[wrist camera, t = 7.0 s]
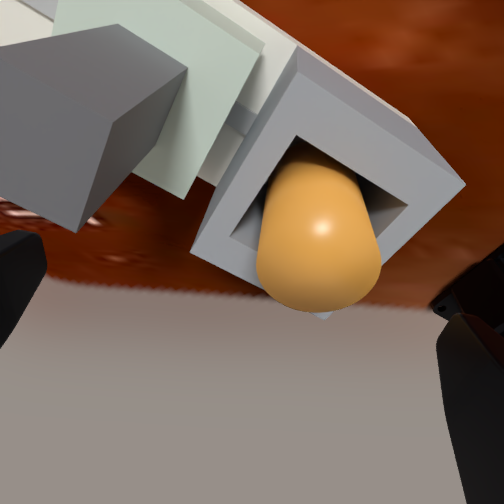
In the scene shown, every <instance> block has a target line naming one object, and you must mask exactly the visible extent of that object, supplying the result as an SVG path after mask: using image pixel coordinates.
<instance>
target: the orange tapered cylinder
mask: <svg viewBox="0 0 504 504" xmlns="http://www.w3.org/2000/svg"><path fill="white" fill-rule="evenodd" d="M256 271H257V275H258V278H259V281H260V283H261V285H262V286H263V288H264V289H265V290H266V292H267V293H268V294H269V295H270V296H271V297H272V298H274V299H275V300H276V301H278V302H279V303H282V304H283V305H285V306H287V307H289V308H292V309H295V310H299V311H304V312H312V313H321V312H330V311H335V310H339V309H342V308H345V307H348V306H350V305H352V304H354V303H356V302H357V301H359V300H360V299H362V298H363V297H364V296H365V295H366V294H367V293H368V292H369V291H370V290H371V289H372V288H373V286H374V285H375V283H376V281H377V279H378V277H379V274H380V271H381V254H380V250H379V247H378V244H377V241H376V238H375V234H374V231H373V228H372V225H371V222H370V219H369V215H368V212H367V209H366V206H365V203H364V200H363V196H362V193H361V190H360V187H359V184H358V181H357V178H356V174H355V171H353V170H352V169H350V168H349V167H347V166H345V165H344V164H342V163H341V162H339V161H337V160H336V159H334V158H333V157H331V156H329V155H328V154H326V153H325V152H323V151H321V150H320V149H318V148H317V147H315V146H313V145H312V144H310V143H309V142H302V143H298V144H296V145H293V146H291V147H290V148H288V149H287V150H286V151H285V153H284V154H283V156H282V157H281V159H280V160H279V162H278V163H277V165H276V166H275V168H274V169H273V171H272V173H271V174H270V176H269V178H268V185H267V192H266V198H265V205H264V212H263V219H262V225H261V232H260V239H259V246H258V252H257V259H256Z"/></svg>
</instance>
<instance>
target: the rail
mask: <svg viewBox="0 0 504 504" xmlns="http://www.w3.org/2000/svg"><path fill="white" fill-rule="evenodd" d="M202 1H204V2H205V3H207V4H208V5H210V6H211V7H213V8H214V9H216V10H217V11H218V12H220V13H221V14H223V15H224V16H226V17H227V18H229V19H230V20H232V21H233V22H235V23H236V24H238V25H239V26H241V27H242V28H244V29H245V30H247V31H248V32H250V33H251V34H252V35H254V36H255V37H257V38H258V39H260V40H261V41H263V42H264V43H266V44H265V46H264V48H263V50H262V52H261V53H260V55H259V57H258V59H257V61H256V63H255V65H254V67H253V69H252V71H251V73H250V75H249V76H248V78H247V80H246V82H245V84H244V86H243V88H242V90H241V92H240V94H239V96H238V97H237V99H236V101H235V103H234V105H233V107H232V109H231V111H230V113H229V115H228V117H227V119H226V120H225V122H224V124H223V126H222V128H221V130H220V132H219V134H218V136H217V138H216V140H215V141H214V143H213V145H212V147H211V149H210V151H209V153H208V155H207V157H206V159H205V161H204V162H203V164H202V166H201V168H200V170H199V172H198V174H197V176H198V177H200V178H201V179H203V180H205V181H207V182H209V183H210V184H212V185H214V186H216V189H215V191H214V194H213V196H212V199H211V201H210V204H209V206H208V209H207V211H206V213H205V216H204V218H203V221H202V223H201V226H200V228H199V231H198V233H197V236H196V238H195V241H194V243H193V246H192V248H191V250H190V253H192V254H194V255H196V256H198V257H200V258H202V259H204V260H206V261H208V262H210V263H212V264H214V265H216V266H218V267H220V268H222V269H224V270H226V271H228V272H230V273H232V274H234V275H236V276H238V277H240V278H242V279H244V280H246V281H247V282H249V283H251V284H253V285H255V286H257V287H259V288H261V289H263V290H265V289H264V288H263V286H262V285H261V283H260V281H259V278H258V275H257V271H256V259H257V252H258V246H259V239H260V232H261V225H262V219H263V212H264V205H265V198H266V192H267V185H268V178H269V176H270V174H271V173H272V171H273V169H274V168H275V166H276V165H277V163H278V162H279V160H280V159H281V157H282V156H283V154H284V153H285V151H286V150H287V149H288V148H290V147H291V146H293V145H296V144H298V143H302V142H309V143H310V144H312V145H313V146H315V147H317V148H318V149H320V150H321V151H323V152H325V153H326V154H328V155H329V156H331V157H333V158H334V159H336V160H337V161H339V162H341V163H342V164H344V165H345V166H347V167H349V168H350V169H352V170H353V171H355V174H356V178H357V181H358V184H359V187H360V190H361V193H362V196H363V200H364V203H365V206H366V209H367V212H368V215H369V219H370V222H371V225H372V228H373V231H374V234H375V238H376V241H377V244H378V247H379V250H380V254H381V266H382V265H383V264H384V263H385V262H386V261H387V260H388V259H389V258H390V257H391V256H392V255H393V254H394V253H395V252H396V251H397V250H398V249H400V248H401V247H402V246H403V245H404V244H405V243H406V242H407V241H408V240H409V239H410V238H411V237H412V236H413V235H414V234H415V233H416V232H417V231H418V230H419V229H420V228H421V227H422V226H424V225H425V224H426V223H427V222H428V221H429V220H430V219H431V218H432V217H433V216H434V215H435V214H436V213H437V212H438V211H439V210H440V209H441V208H442V207H443V206H444V205H445V204H446V203H448V202H449V201H450V200H451V199H452V198H453V197H454V196H455V195H456V194H457V193H458V192H459V191H460V190H461V189H462V188H463V187H464V186H465V185H466V184H465V183H464V181H463V180H462V179H461V178H460V177H459V176H458V175H457V173H456V172H455V171H454V170H453V169H452V168H451V166H450V165H449V164H448V163H447V162H446V161H445V160H444V158H443V157H442V156H441V155H440V154H439V153H438V151H437V150H436V149H435V148H434V147H433V146H432V145H431V143H430V142H429V141H428V140H427V139H426V138H425V136H424V135H423V134H422V133H421V132H420V131H419V129H418V128H417V127H416V126H415V125H414V124H413V123H412V121H411V120H410V119H409V118H408V117H407V116H405V115H404V114H402V113H401V112H399V111H398V110H396V109H395V108H394V107H392V106H391V105H389V104H388V103H386V102H385V101H383V100H382V99H381V98H379V97H378V96H376V95H375V94H373V93H372V92H370V91H369V90H368V89H366V88H365V87H363V86H362V85H360V84H359V83H357V82H356V81H355V80H353V79H352V78H350V77H349V76H347V75H346V74H345V73H343V72H342V71H340V70H339V69H337V68H336V67H334V66H333V65H332V64H330V63H329V62H327V61H326V60H324V59H323V58H321V57H320V56H319V55H317V54H316V53H314V52H313V51H311V50H310V49H308V48H307V47H306V46H304V45H303V44H301V43H300V42H298V41H297V40H295V39H294V38H293V37H291V36H290V35H288V34H287V33H285V32H284V31H283V30H281V29H280V28H278V27H277V26H275V25H274V24H272V23H271V22H270V21H268V20H267V19H265V18H264V17H262V16H261V15H259V14H258V13H257V12H255V11H254V10H252V9H251V8H249V7H248V6H246V5H245V4H244V3H242V2H241V1H239V0H202ZM57 4H58V0H0V46H6V45H11V44H16V43H21V42H26V41H31V40H36V39H41V38H46V37H51V34H52V29H53V24H54V19H55V14H56V9H57ZM265 291H266V290H265ZM333 312H334V311H330V312H321V313H312V312H309V313H311V314H313V315H315V316H317V317H319V318H321V319H323V320H325V319H326V318H327V317H329V316H330V315H331V314H332V313H333Z"/></svg>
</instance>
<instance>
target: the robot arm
mask: <svg viewBox="0 0 504 504" xmlns="http://www.w3.org/2000/svg"><path fill="white" fill-rule="evenodd" d="M46 270H47V260H46V256H45V251H44V247H43V242H42V239H41V237H40V235H39V234H37V233H35V232H29V231H24V230H16V231H12V232H9V233H6V234H3V235H0V348H1V347H2V345H3V344H4V343H5V341H6V340H7V339H8V337H9V335H10V334H11V333H12V331H13V329H14V328H15V326H16V325H17V323H18V321H19V319H20V318H21V316H22V314H23V312H24V311H25V309H26V307H27V305H28V303H29V302H30V300H31V298H32V297H33V295H34V293H35V291H36V290H37V287H38V286H39V284H40V282H41V281H42V279H43V277H44V275H45V273H46ZM439 306H442V307H439ZM431 307H432V309H433V312H434V313H435V314H437V315H439V316H441V317H443V318H444V319H446V320H448V321H449V322H448V323H447V325H446V326H445V328H444V330H443V331H442V332H441V334H440V336H439V337H438V339H437V343H436V351H437V359H438V367H439V374H440V381H441V390H442V397H443V405H444V411H445V416H446V421H447V425H448V430H449V434H450V438H451V442H452V446H453V450H454V454H455V458H456V462H457V466H458V470H459V474H460V478H461V482H462V486H463V491H464V494H465V499H466V503H467V504H504V245H503V246H502V247H500V248H499V249H498V250H497V251H495V252H494V253H493V254H492V255H490V256H489V257H488V258H487V259H485V260H484V261H483V262H482V263H480V264H479V265H478V266H477V267H475V268H474V269H473V270H472V271H470V272H469V273H468V274H467V275H465V276H464V277H463V278H461V279H460V280H459V281H458V282H456V283H455V284H454V285H453V286H451V287H450V288H449V289H448V290H446V291H445V292H444V293H443V294H441V295H440V296H439V297H438V298H436V299H435V300H434V301H433V302H432V303H431Z"/></svg>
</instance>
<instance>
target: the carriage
mask: <svg viewBox="0 0 504 504" xmlns="http://www.w3.org/2000/svg"><path fill="white" fill-rule="evenodd" d="M265 44H266V43H264V42H263V41H261V40H260V39H258V38H257V37H255V36H254V35H252V34H251V33H250V32H248V31H247V30H245V29H244V28H242V27H241V26H239V25H238V24H236V23H235V22H233V21H232V20H230V19H229V18H227V17H226V16H224V15H223V14H221V13H220V12H218V11H217V10H216V9H214V8H213V7H211V6H210V5H208V4H207V3H205V2H204V1H202V0H58V4H57V9H56V14H55V19H54V24H53V29H52V34H51V37H46V38H41V39H36V40H31V41H26V42H21V43H16V44H11V45H6V46H0V197H2V198H4V199H6V200H8V201H10V202H13V203H15V204H17V205H19V206H21V207H23V208H25V209H27V210H29V211H31V212H33V213H35V214H38V215H40V216H42V217H44V218H46V219H48V220H50V221H52V222H54V223H56V224H58V225H60V226H63V227H65V228H67V229H69V230H71V231H73V232H75V233H77V232H78V230H79V229H80V228H81V227H82V226H83V225H84V224H85V223H86V222H87V220H88V219H89V218H90V217H91V216H92V215H93V214H94V213H95V212H96V210H97V209H98V208H99V207H100V206H101V205H102V204H103V203H104V202H105V200H106V199H107V198H108V197H109V196H110V195H111V194H112V193H113V192H114V190H115V189H116V188H117V187H118V186H119V185H120V184H121V183H122V182H123V181H124V179H125V178H126V177H127V176H128V175H129V174H130V173H131V172H133V173H134V174H136V175H138V176H140V177H142V178H144V179H146V180H148V181H149V182H151V183H153V184H155V185H157V186H159V187H161V188H162V189H164V190H166V191H168V192H170V193H172V194H174V195H175V196H177V197H179V198H181V199H183V200H184V198H185V196H186V194H187V193H188V191H189V189H190V187H191V185H192V183H193V181H194V180H195V178H196V176H197V174H198V172H199V170H200V168H201V166H202V164H203V162H204V161H205V159H206V157H207V155H208V153H209V151H210V149H211V147H212V145H213V143H214V141H215V140H216V138H217V136H218V134H219V132H220V130H221V128H222V126H223V124H224V122H225V120H226V119H227V117H228V115H229V113H230V111H231V109H232V107H233V105H234V103H235V101H236V99H237V97H238V96H239V94H240V92H241V90H242V88H243V86H244V84H245V82H246V80H247V78H248V76H249V75H250V73H251V71H252V69H253V67H254V65H255V63H256V61H257V59H258V57H259V55H260V53H261V52H262V50H263V48H264V46H265Z"/></svg>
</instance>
